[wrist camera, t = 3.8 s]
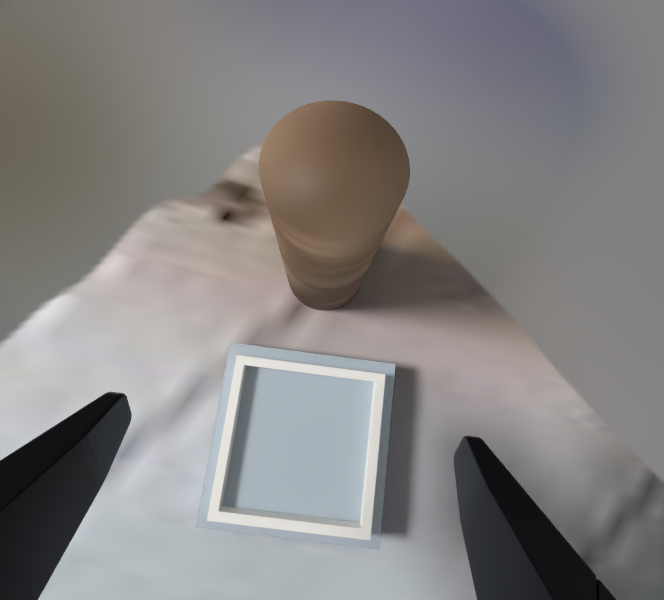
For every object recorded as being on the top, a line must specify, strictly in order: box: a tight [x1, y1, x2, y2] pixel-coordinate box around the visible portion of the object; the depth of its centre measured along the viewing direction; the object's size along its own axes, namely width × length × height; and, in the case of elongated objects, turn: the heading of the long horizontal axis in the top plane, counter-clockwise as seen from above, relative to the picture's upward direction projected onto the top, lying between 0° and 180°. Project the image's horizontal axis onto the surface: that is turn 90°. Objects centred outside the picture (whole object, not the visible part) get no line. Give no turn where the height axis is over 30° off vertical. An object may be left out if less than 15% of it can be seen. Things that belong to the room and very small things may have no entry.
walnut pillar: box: [259, 101, 410, 310], centre depth 18 cm, size 5×5×13 cm
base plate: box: [196, 343, 395, 549], centre depth 21 cm, size 10×10×3 cm
